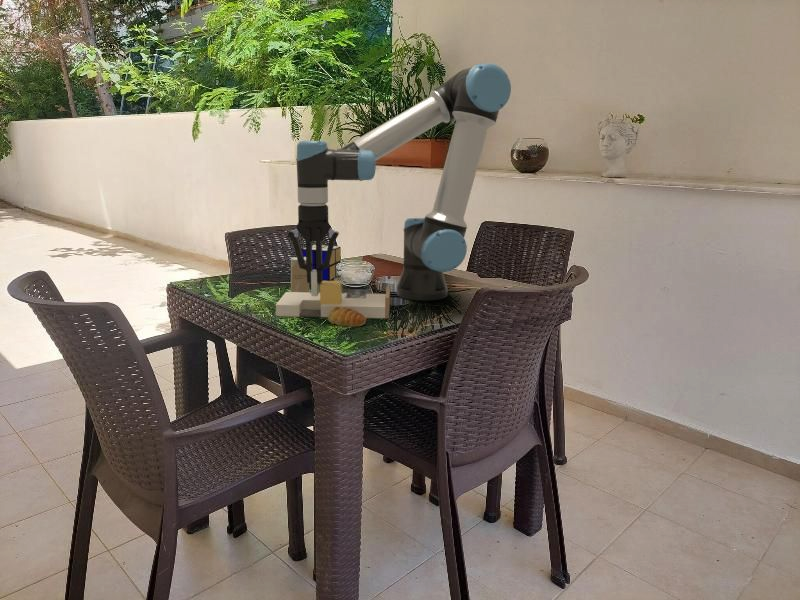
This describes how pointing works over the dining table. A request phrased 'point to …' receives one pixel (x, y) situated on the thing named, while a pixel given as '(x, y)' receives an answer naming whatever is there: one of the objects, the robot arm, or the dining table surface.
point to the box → (298, 277)
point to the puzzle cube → (335, 259)
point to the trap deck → (333, 305)
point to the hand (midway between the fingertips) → (315, 295)
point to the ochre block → (330, 292)
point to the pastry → (346, 317)
